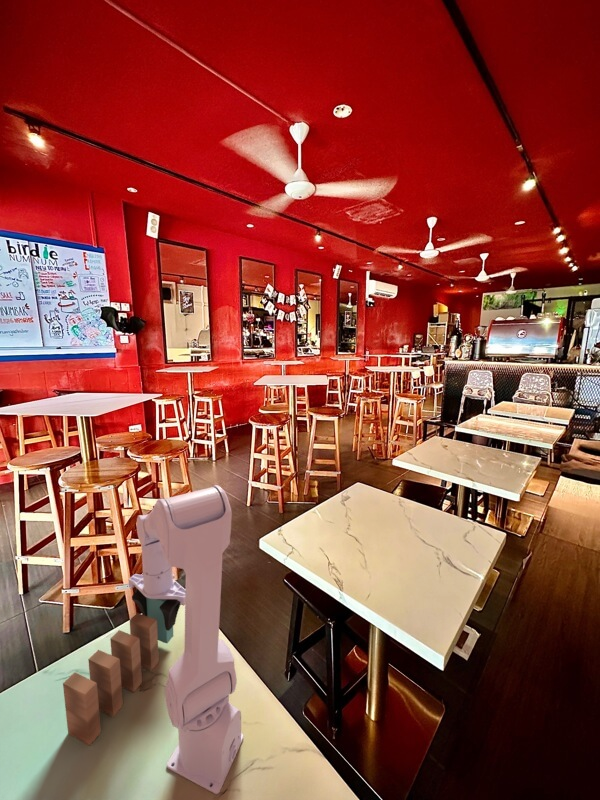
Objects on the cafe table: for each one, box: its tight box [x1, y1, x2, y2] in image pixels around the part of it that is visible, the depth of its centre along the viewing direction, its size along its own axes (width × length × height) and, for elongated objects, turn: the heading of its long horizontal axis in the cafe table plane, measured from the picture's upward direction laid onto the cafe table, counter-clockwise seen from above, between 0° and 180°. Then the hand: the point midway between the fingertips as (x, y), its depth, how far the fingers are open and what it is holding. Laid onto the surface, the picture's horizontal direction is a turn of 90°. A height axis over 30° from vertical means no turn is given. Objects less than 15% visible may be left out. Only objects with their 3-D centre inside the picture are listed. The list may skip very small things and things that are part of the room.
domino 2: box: [88, 649, 124, 718], centre depth 59 cm, size 5×2×10 cm, turn 71°
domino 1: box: [62, 672, 102, 746], centre depth 55 cm, size 5×2×10 cm, turn 71°
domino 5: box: [146, 597, 174, 644], centre depth 72 cm, size 5×2×10 cm, turn 71°
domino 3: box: [110, 629, 143, 693], centre depth 64 cm, size 5×2×10 cm, turn 71°
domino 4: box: [129, 612, 160, 671], centre depth 68 cm, size 5×2×10 cm, turn 71°
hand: (160, 622), depth 72 cm, fingers closed on domino 5, 5 cm apart
